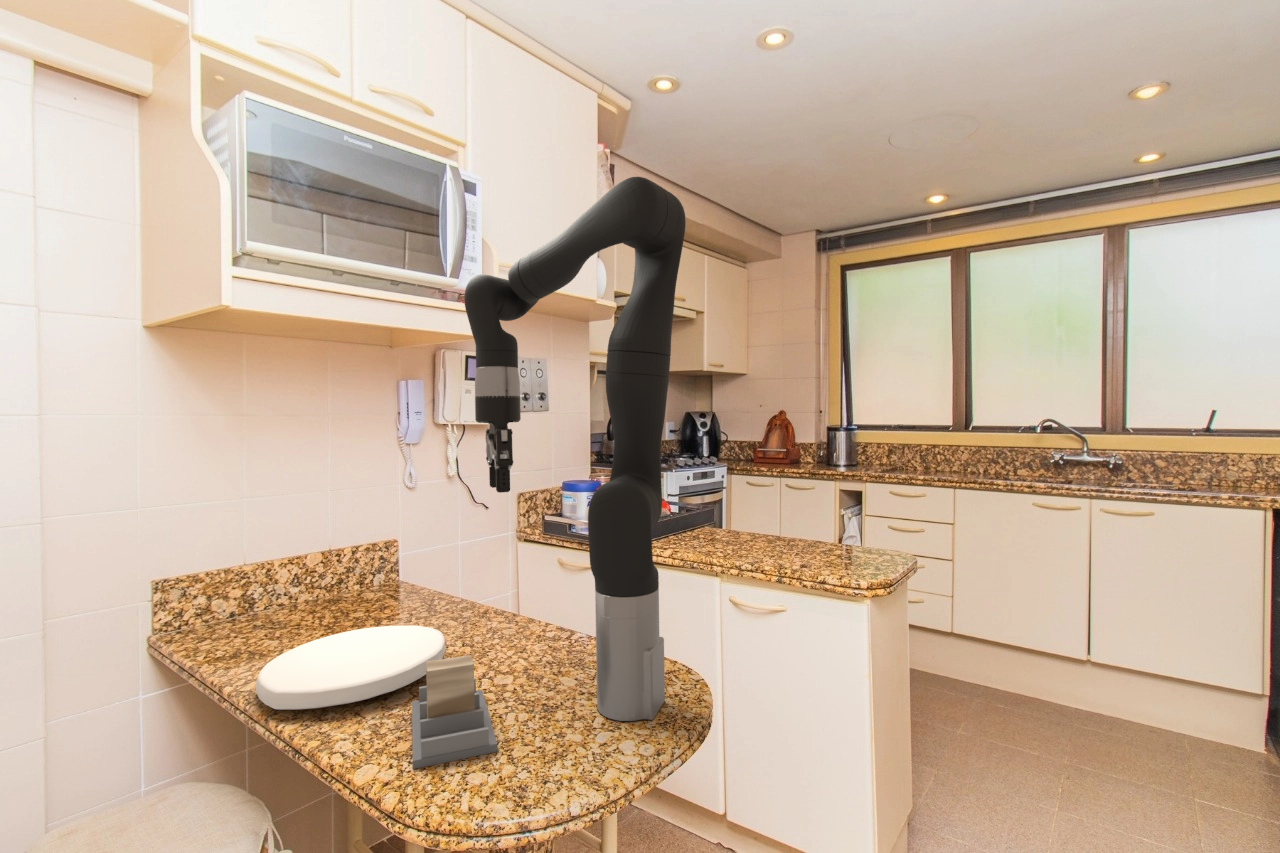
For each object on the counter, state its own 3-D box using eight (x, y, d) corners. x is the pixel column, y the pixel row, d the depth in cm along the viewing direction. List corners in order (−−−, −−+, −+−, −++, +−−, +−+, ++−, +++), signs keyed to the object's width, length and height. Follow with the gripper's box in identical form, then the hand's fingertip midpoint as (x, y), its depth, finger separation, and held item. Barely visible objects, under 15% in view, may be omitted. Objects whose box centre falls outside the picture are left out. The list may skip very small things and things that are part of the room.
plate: (239, 703, 81) (265, 640, 105) (246, 750, 82) (271, 677, 106) (453, 645, 93) (433, 600, 117) (459, 686, 94) (437, 633, 118)
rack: (497, 751, 77) (496, 728, 77) (412, 769, 73) (412, 744, 73) (482, 696, 92) (481, 676, 92) (412, 708, 89) (411, 687, 89)
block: (475, 722, 82) (473, 664, 82) (428, 731, 80) (426, 671, 80) (472, 711, 85) (471, 654, 85) (427, 719, 83) (426, 661, 83)
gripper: (527, 392, 99) (529, 492, 99) (513, 396, 112) (514, 484, 112) (479, 392, 96) (481, 495, 96) (471, 396, 109) (472, 486, 109)
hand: (499, 489), depth 104 cm, fingers open, 8 cm apart
